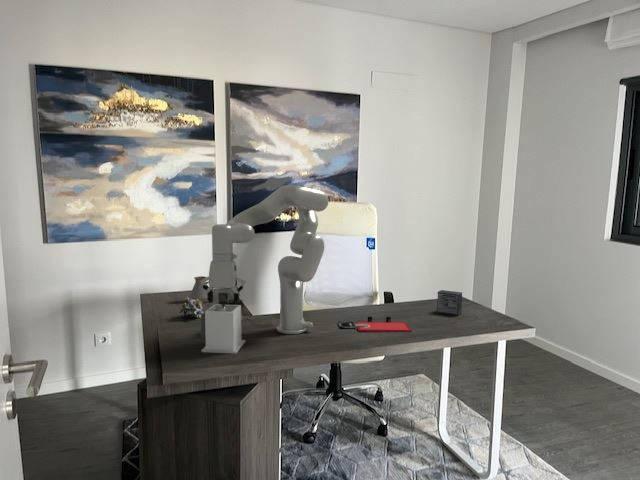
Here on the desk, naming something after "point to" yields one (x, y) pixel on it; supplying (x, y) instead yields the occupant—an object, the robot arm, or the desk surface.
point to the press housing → (222, 329)
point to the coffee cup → (231, 302)
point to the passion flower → (193, 307)
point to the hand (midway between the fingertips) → (223, 302)
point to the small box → (449, 302)
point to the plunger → (223, 299)
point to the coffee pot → (199, 290)
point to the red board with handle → (377, 326)
